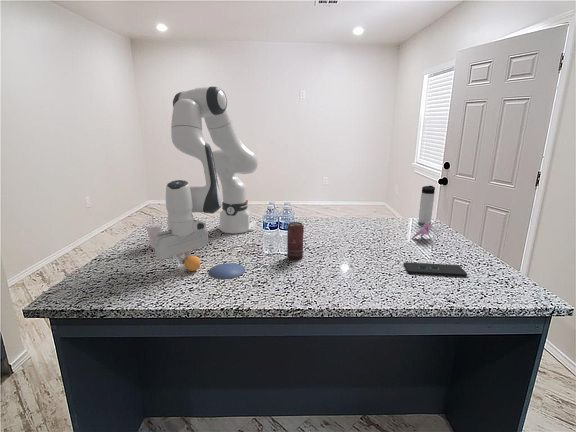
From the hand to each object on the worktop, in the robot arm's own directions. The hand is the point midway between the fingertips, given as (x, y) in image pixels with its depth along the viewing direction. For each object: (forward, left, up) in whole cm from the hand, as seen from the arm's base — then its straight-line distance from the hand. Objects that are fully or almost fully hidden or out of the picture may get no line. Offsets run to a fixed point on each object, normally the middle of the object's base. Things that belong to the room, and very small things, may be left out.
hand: (184, 263), depth 123 cm
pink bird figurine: (-50, +93, -2) cm, 106 cm away
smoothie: (-17, -22, -2) cm, 28 cm away
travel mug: (-78, +98, -2) cm, 126 cm away
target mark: (0, +16, -2) cm, 17 cm away
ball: (+2, +4, +1) cm, 5 cm away
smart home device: (-15, +90, -2) cm, 91 cm away
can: (-17, +38, -2) cm, 42 cm away
